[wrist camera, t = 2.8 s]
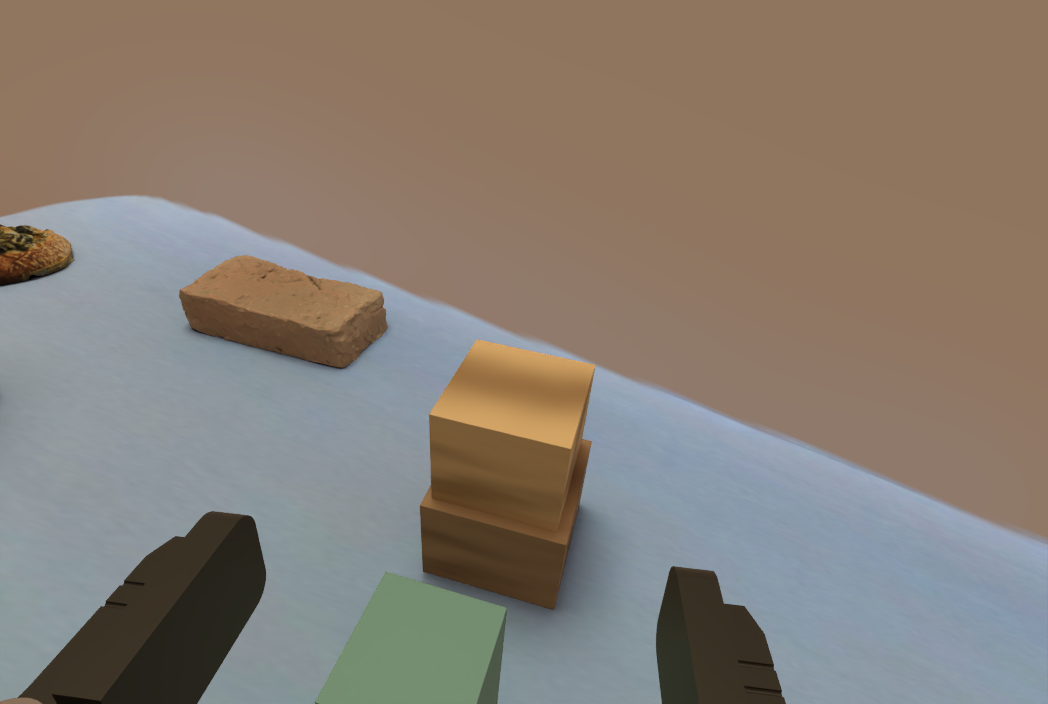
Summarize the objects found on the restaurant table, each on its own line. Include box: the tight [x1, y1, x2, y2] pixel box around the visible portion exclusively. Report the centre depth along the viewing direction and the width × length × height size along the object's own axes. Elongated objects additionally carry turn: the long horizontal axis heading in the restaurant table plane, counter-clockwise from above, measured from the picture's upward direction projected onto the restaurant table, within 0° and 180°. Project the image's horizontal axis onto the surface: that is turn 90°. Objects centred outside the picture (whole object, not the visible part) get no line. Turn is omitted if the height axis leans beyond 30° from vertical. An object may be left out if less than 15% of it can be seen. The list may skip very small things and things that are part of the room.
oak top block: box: [429, 340, 595, 532], centre depth 31 cm, size 7×7×6 cm
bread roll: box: [0, 225, 74, 285], centre depth 59 cm, size 11×11×5 cm
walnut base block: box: [420, 439, 592, 610], centre depth 34 cm, size 8×8×6 cm
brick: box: [179, 255, 387, 368], centre depth 52 cm, size 16×8×5 cm, turn 73°
